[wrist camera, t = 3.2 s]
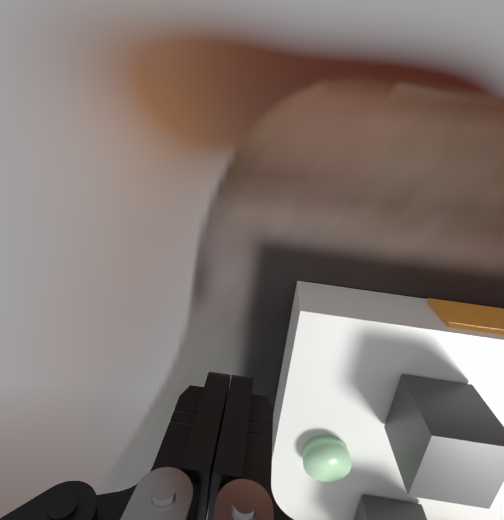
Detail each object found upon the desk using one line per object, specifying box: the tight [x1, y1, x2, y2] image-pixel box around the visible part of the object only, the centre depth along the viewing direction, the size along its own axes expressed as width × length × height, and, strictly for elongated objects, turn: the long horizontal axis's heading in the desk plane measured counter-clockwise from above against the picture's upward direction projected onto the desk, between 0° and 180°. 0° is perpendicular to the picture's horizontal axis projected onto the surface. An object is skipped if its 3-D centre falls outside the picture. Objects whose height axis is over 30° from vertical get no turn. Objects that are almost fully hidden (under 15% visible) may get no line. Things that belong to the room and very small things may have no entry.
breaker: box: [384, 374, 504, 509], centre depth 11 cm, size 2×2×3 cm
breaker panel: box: [271, 281, 504, 520], centre depth 16 cm, size 14×19×3 cm
